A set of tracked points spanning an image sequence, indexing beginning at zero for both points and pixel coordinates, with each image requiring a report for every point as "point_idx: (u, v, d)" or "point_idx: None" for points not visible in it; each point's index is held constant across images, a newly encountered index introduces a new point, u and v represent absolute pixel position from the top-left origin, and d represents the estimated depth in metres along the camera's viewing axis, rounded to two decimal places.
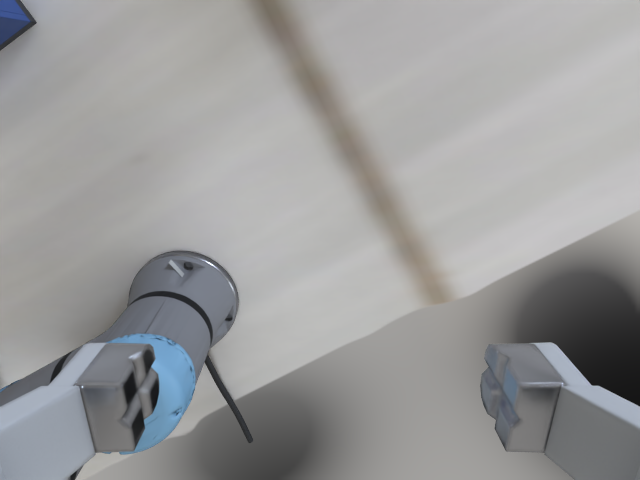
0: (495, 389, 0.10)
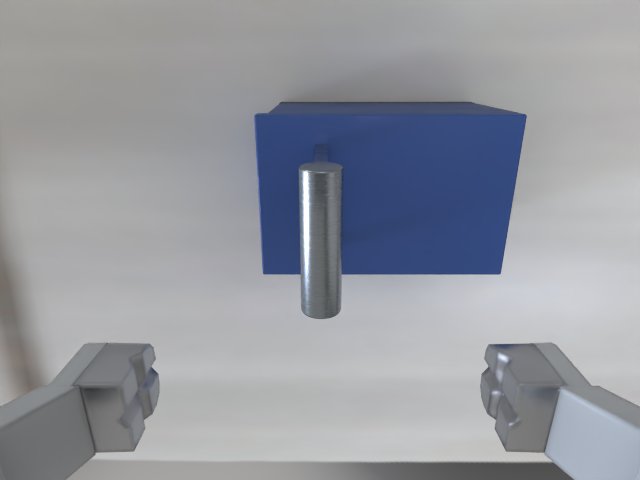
0: (495, 389, 0.10)
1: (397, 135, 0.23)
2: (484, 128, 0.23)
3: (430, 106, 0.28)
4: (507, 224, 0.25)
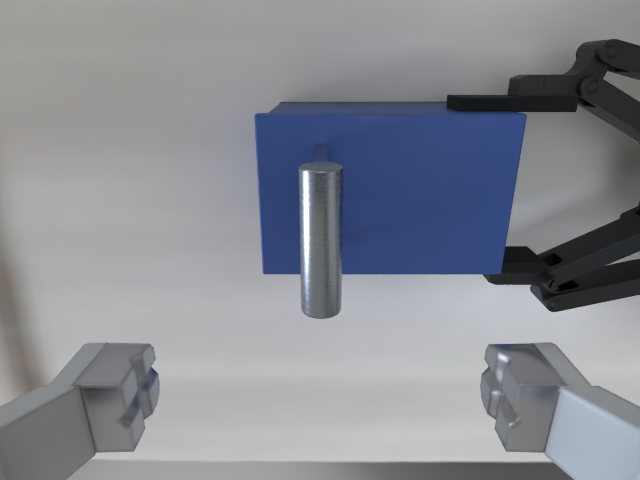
0: (495, 389, 0.10)
1: (397, 135, 0.23)
2: (484, 128, 0.23)
3: (430, 106, 0.28)
4: (507, 224, 0.25)
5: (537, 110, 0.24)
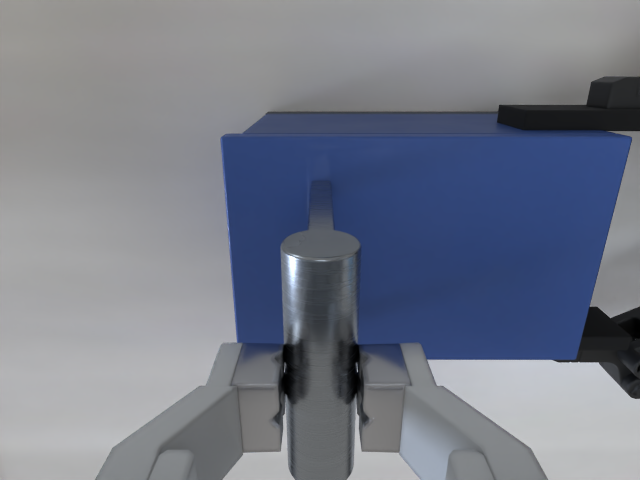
0: (361, 388, 0.10)
1: (436, 167, 0.15)
2: (566, 156, 0.15)
3: (472, 119, 0.20)
4: (591, 293, 0.17)
5: (638, 128, 0.17)
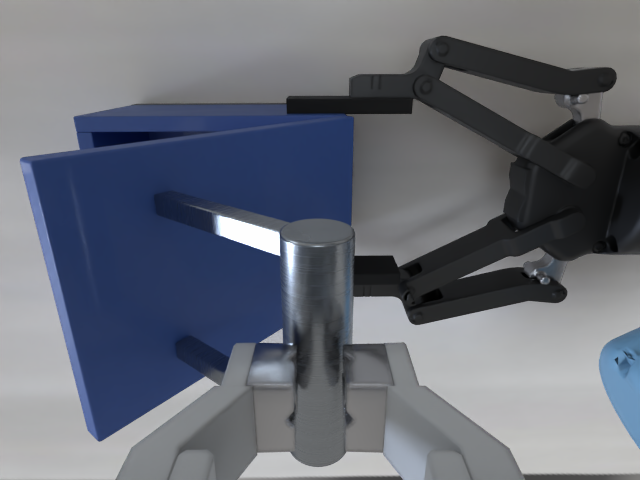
0: None
1: (254, 158, 0.17)
2: (327, 135, 0.20)
3: (277, 108, 0.26)
4: None
5: (370, 112, 0.23)
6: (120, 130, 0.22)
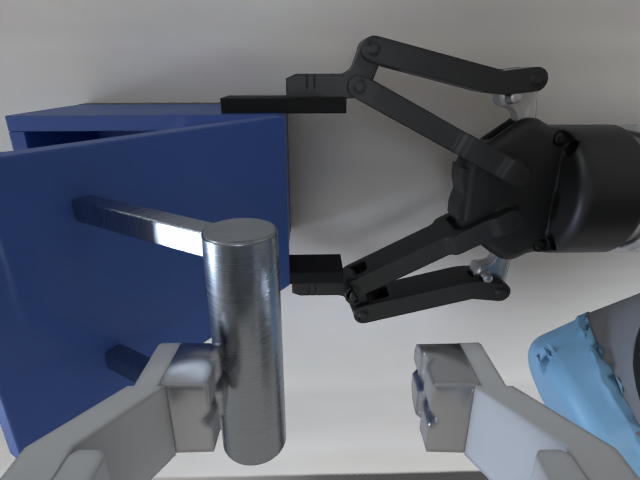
0: (422, 389, 0.10)
1: (182, 160, 0.16)
2: (258, 135, 0.20)
3: (220, 107, 0.26)
4: (287, 232, 0.23)
5: (304, 111, 0.23)
6: (53, 129, 0.22)
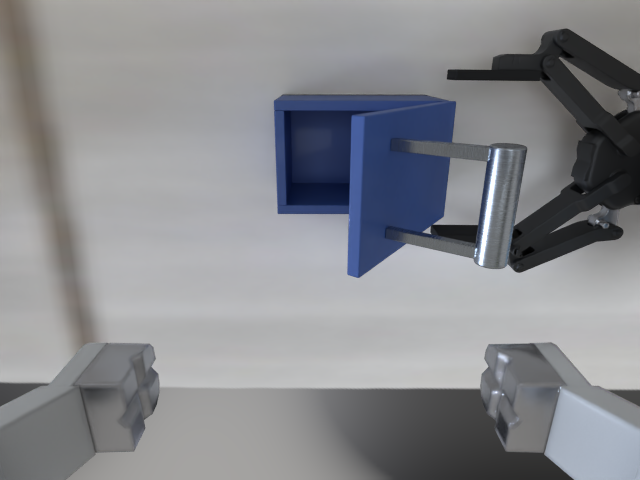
0: (495, 389, 0.10)
1: (421, 123, 0.28)
2: (445, 112, 0.32)
3: (391, 97, 0.38)
4: (447, 179, 0.35)
5: (512, 79, 0.34)
6: (302, 109, 0.34)
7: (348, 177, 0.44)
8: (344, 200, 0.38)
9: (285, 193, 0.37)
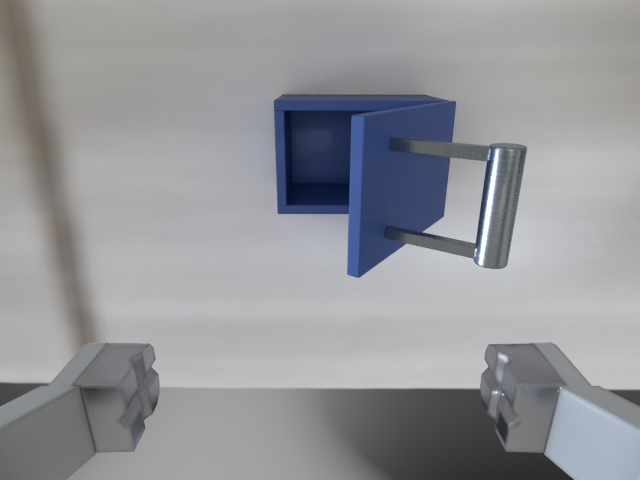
0: (495, 389, 0.10)
1: (421, 123, 0.28)
2: (445, 112, 0.32)
3: (391, 97, 0.38)
4: (447, 179, 0.35)
5: None
6: (302, 109, 0.34)
7: (348, 177, 0.44)
8: (344, 200, 0.38)
9: (285, 193, 0.37)
